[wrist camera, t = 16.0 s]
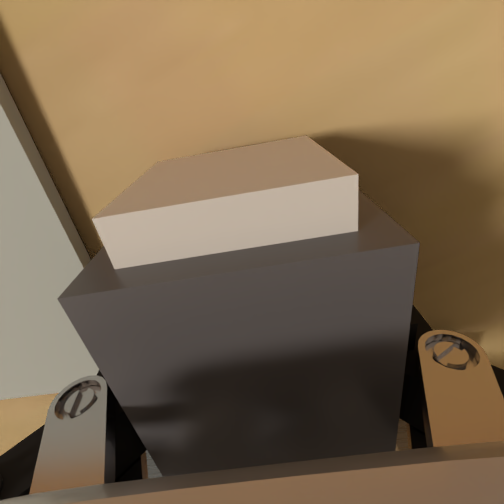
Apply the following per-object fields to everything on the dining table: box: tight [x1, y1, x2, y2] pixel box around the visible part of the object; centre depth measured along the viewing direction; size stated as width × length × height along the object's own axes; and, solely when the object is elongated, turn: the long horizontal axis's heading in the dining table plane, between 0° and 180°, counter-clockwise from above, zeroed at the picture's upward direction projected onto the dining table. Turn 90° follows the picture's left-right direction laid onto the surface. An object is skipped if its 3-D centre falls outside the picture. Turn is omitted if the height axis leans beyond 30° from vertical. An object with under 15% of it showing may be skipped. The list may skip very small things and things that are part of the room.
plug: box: [57, 135, 420, 477], centre depth 11 cm, size 18×6×6 cm, turn 9°
